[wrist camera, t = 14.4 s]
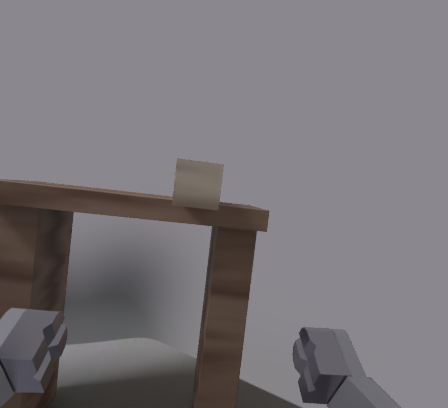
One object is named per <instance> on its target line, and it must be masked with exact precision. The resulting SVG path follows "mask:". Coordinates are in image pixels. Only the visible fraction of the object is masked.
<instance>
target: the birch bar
mask: <svg viewBox="0 0 448 408" xmlns="http://www.w3.org/2000/svg"><path fill="white" fill-rule="evenodd" d="M223 167H224V164H216V163H209V162H202V161H193V160H186V159H177V164H176V172H175V182H174V191H173V200H172V205H173V206H182V207H192V208H201V209H210V210H219V201H220V193H221V184H222V175H223Z"/></svg>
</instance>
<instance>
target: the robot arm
mask: <svg viewBox="0 0 448 408" xmlns="http://www.w3.org/2000/svg"><path fill="white" fill-rule="evenodd" d="M63 320H64V315H63V312H59V311H47V310H34V309H23V308H11V309H9V310H8V311H7V312H6V313H5V314H4V315H3V317H2V318H1V320H0V407H1V406H2V405H3V404H5V403H6V402H7V401H8V400H9V399H10V398H11V397H12V396H13V395H14V392H29V393H44V392H45V389H46V387H47V385H48V383H49V381H50V379H51V377H52V374H53V372H54V367H53V362H54V361H56V360H57V359H58V358H59V357H61V355H62V352H63V350H64V348H65V344H66V340H67V327H66V326H65V325H64V324H63V323H62V322H63ZM299 335H300V338H299V339H297V340H296V341H295V343H294V346H293V362H294V366H295V369H296V370H297V371H298V372H299V373H300V375H301V376H300V378H299V381H298V383H299V388H300V392H301V396H302V400H303V403H317V404H328V405H327V406H328V408H401V407H400V406H399V405H398V404H397V403H396V402H395V401H394V400H393V399H392V398H391V397H390V396H389V395H388V394H387V393H386V392H385V391H384V390H383V389H382V388H381V387H380V386H379V385H378V384H377V383H376V382H375V381H374V380H373V379H372V378H369V377H366V375H365V372H364V370H363V368H362V365H361V363H360V361H359V358H358V357H357V354H356V352H355V349H354V347H353V345H352V342H351V340H350V338H349V336H348V333H347V332H346V331H345V330H342V329H341V330H340V329H329V328H308V327H303V328H302V329H301V330H300V332H299Z"/></svg>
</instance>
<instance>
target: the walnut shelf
mask: <svg viewBox="0 0 448 408" xmlns="http://www.w3.org/2000/svg"><path fill="white" fill-rule="evenodd" d="M172 200H173V197H170V196H161V195H153V194H143V193H135V192H126V191H117V190H108V189H99V188H90V187H82V186H73V185H64V184H55V183H46V182H36V181H20V180H19V181H18V180H2V179H0V320H1V318H2V317H3V315H4V314H5V313H6V312H7V311H8V310H9V309H11V308H23V309H34V310H47V311H59V312H63V315H64V304H65V294H66V285H67V274H68V264H69V253H70V244H71V233H72V223H73V213H74V212H81V213H92V214H100V215H110V216H119V217H129V218H139V219H148V220H159V221H168V222H177V223H187V224H197V225H207V226H212V233H211V241H210V250H209V258H208V267H207V276H206V285H205V293H204V302H203V311H202V319H201V328H200V337H199V345H198V354H197V363H196V371H195V380H194V389H193V397H192V408H236V400H237V391H238V383H239V374H240V366H241V358H242V350H243V342H244V332H245V325H246V316H247V309H248V300H249V292H250V283H251V275H252V266H253V258H254V250H255V242H256V234H257V233H256V232H257V231H264V232H267V226H268V218H269V211H268V210H264V209H260V208H257V207H253V206H250V205H241V204H232V203H223V202H219V210H210V209H201V208H192V207H182V206H173V205H172ZM62 323H63V322H62ZM58 366H59V358H58V359H57V360H56V361H54V362H53V367H54V372H53V374H52V377H51V379H50V381H49V383H48V385H47V387H46V389H45V392H44V393H29V392H14V395H13V396H12V397H11V398H10V399H9V400H8V401H7V402H6V403H5V404H3V405H2V406H1V407H0V408H46V407H47V406H48V404H49V403H50V401H51V400H52V398H53V397H54V396H55V394H56V387H57V377H58Z"/></svg>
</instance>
